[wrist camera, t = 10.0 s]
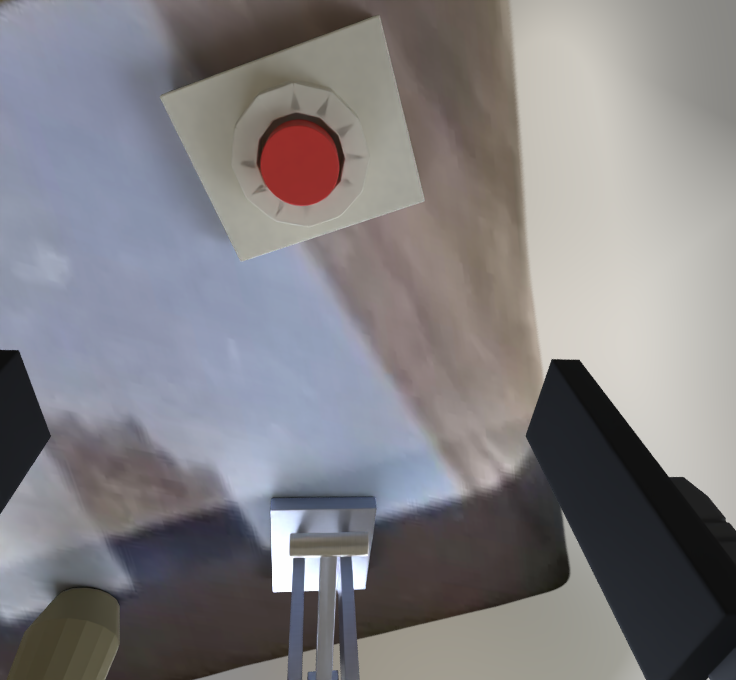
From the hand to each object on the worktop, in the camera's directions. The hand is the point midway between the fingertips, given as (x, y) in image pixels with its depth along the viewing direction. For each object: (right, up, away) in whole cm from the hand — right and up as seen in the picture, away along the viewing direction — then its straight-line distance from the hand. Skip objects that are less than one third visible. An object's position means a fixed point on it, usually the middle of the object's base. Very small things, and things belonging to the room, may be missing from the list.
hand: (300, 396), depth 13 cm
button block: (-2, +12, +14) cm, 19 cm away
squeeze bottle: (-26, -24, +35) cm, 50 cm away
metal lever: (-1, -18, +22) cm, 28 cm away
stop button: (-2, +10, +11) cm, 15 cm away
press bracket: (-3, -17, +33) cm, 37 cm away
